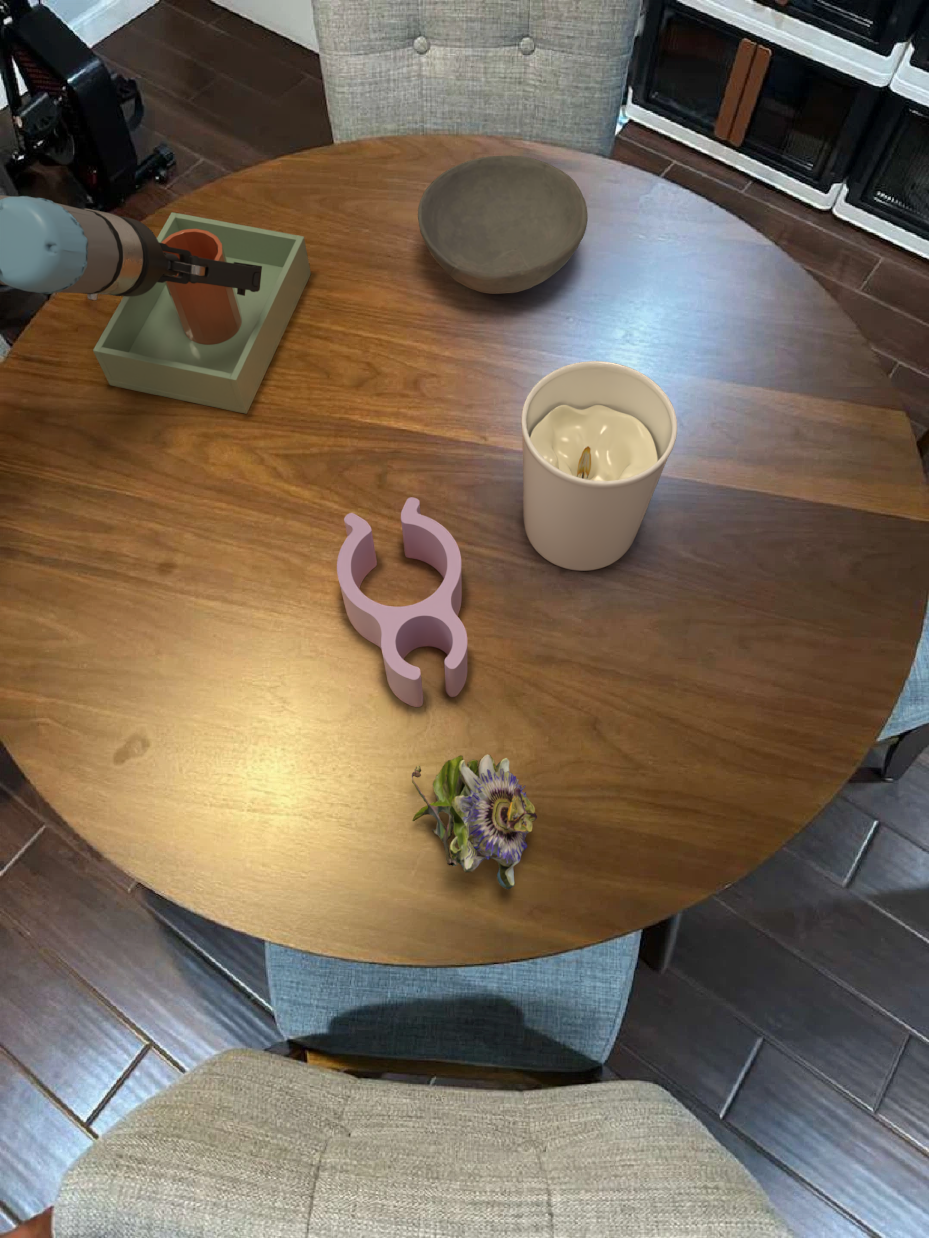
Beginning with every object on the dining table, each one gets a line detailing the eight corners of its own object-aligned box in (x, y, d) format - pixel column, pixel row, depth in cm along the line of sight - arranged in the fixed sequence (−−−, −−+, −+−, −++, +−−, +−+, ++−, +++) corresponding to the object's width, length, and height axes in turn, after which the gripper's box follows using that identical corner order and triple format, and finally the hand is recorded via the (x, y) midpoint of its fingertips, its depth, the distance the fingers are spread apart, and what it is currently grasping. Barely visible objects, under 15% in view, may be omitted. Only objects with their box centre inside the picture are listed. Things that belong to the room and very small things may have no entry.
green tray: (109, 385, 116) (92, 350, 111) (184, 249, 127) (171, 211, 122) (247, 414, 114) (236, 380, 109) (311, 274, 125) (304, 236, 119)
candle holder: (505, 475, 110) (511, 366, 94) (632, 464, 111) (660, 354, 95) (522, 587, 103) (532, 491, 87) (658, 574, 104) (692, 476, 88)
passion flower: (511, 847, 96) (546, 896, 85) (402, 853, 94) (423, 904, 82) (514, 737, 95) (550, 771, 83) (404, 740, 92) (425, 776, 81)
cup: (172, 338, 118) (146, 268, 109) (195, 295, 122) (171, 224, 112) (229, 350, 118) (207, 280, 108) (250, 306, 121) (231, 235, 111)
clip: (495, 684, 98) (497, 656, 92) (377, 719, 97) (371, 692, 91) (439, 526, 107) (437, 490, 101) (330, 555, 105) (321, 520, 99)
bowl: (585, 323, 121) (592, 273, 114) (417, 322, 121) (414, 273, 114) (577, 205, 130) (583, 153, 123) (422, 205, 131) (420, 152, 123)
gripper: (-7, 272, 97) (104, 281, 117) (226, 319, 94) (299, 319, 114) (-5, 192, 95) (108, 215, 115) (234, 237, 92) (307, 253, 112)
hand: (203, 267), depth 115 cm, fingers open, 13 cm apart
